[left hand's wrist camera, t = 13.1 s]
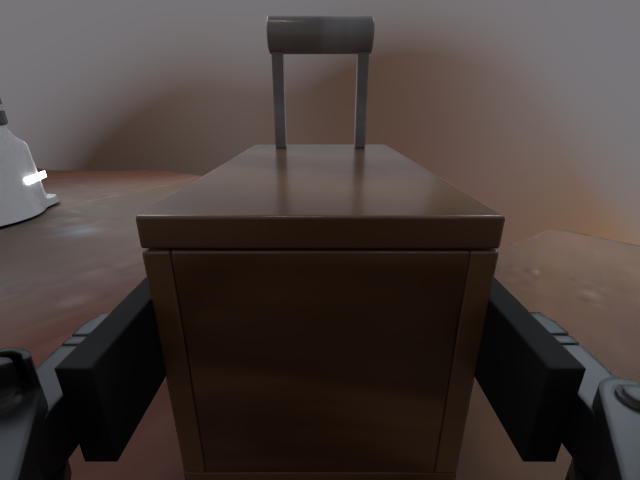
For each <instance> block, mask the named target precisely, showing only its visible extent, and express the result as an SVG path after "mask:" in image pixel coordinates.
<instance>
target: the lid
mask: <svg viewBox="0 0 640 480" xmlns="http://www.w3.org/2000/svg"><path fill="white" fill-rule="evenodd" d="M373 41H374V17H373V16H268V17H267V42H268V49H269V52H270V54H272V75H273V97H274V120H275V145H255V146H253V147H251V148H250V149H248V150H246V151H245V152H243V153H241V154H240V155H238V156H236V157H235V158H233V159H231V160H230V161H228V162H226V163H225V164H223V165H221V166H219V167H218V168H216V169H214V170H213V171H211V172H209V173H208V174H206V175H204V176H203V177H201V178H199V179H198V180H196V181H194V182H193V183H191V184H189V185H188V186H186V187H184V188H183V189H181V190H179V191H178V192H176V193H174V194H173V195H171V196H169V197H167V198H166V199H164V200H162V201H161V202H159V203H157V204H156V205H154V206H152V207H151V208H149V209H147V210H146V211H144V212H142V213H141V214H139V215H137V216H136V223H137V228H138V233H139V238H140V243H141V247H142V248H499V246H500V242H501V237H502V231H503V226H504V221H505V217H504V216H503V215H501V214H500V213H498V212H496V211H495V210H493V209H491V208H490V207H488V206H486V205H485V204H483V203H481V202H480V201H478V200H476V199H475V198H473V197H471V196H470V195H468V194H466V193H465V192H463V191H461V190H459V189H458V188H456V187H455V186H453V185H451V184H450V183H448V182H446V181H445V180H443V179H441V178H440V177H438V176H436V175H435V174H433V173H431V172H430V171H428V170H426V169H425V168H423V167H421V166H419V165H418V164H416V163H414V162H413V161H411V160H409V159H408V158H406V157H404V156H403V155H401V154H399V153H398V152H396V151H394V150H393V149H391V148H389V147H388V146H386V145H365V139H366V116H367V94H368V71H369V54H371V52H372V48H373ZM284 54H357V72H356V101H355V132H354V145H287V136H286V105H285V73H284Z"/></svg>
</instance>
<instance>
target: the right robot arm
mask: <svg viewBox="0 0 640 480" xmlns="http://www.w3.org/2000/svg"><path fill="white" fill-rule="evenodd" d="M7 123H8V121H7V117H6V114H5V107H4V105H2V102H1V99H0V226H4V225H8V224H12V223H15V222H19V221H22V220H25V219H28V218H31V217H34V216H36V215H38V214H40V213H42V212H43V211H44V210H45V209H46V208H47V207H48V206H51V205H53V204H56V203H58V202H59V200H58V198H57V195H55V194H45V191H44V188H43V185H42V183H41V179H43V178H45V177H47V176H46V172H45V171H41V172H39V173H38V172H37V169H36V166H35V164H34V161H33V158H32V155H31V153H30V150H29V148H28V145H27V144H26V143H25V142H24V141H22V140H21V139H19V138H17V137H15V136H14V135H13V134H12V133H10V131H9V130H8V129H7V128H6V126H5V125H6V124H7Z"/></svg>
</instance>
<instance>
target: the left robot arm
mask: <svg viewBox="0 0 640 480" xmlns="http://www.w3.org/2000/svg"><path fill="white" fill-rule="evenodd" d="M165 377H166V373H165V368H164V363H163V358H162V353H161V347H160V342H159V337H158V332H157V327H156V321H155V316H154V311H153V306H152V301H151V296H150V290H149V285H148V280H147V277H146V278H145V279H144V280H143V281H142V282H141V283H140V284H139V285H138V286H137V287H136V288H135V289H134V290H133V291H132V292H131V293H130V294H129V295H128V296H127V297H126V298H125V299H124V300H123V301H122V302H121V303H120V304H119V305H118V306H117V307H116V308H115V309H114V310H113V311H112V312H111V313H102V314H100V315H98V316H96V317H95V318H93V319H91V320H89V321H88V322H86V323H84V324H83V325H82V326H81V327H80V328H79V329H78V330H77V331H76V332H75V333H74V334H73V336H72V337H69V338H68V339H67V340H66V341H65V342H64V343H63V344H62V346H60V347H58V348H57V349H56V350H55V351H54V352H53V353H52V354H51V355H50V356H49V357H48V358H47V359H46V360H44V361H43V362H42V363H41V364H40V365H39V366H38V367H37V368H35V365H34V363H33V360H32V357H31V354H30V351H28V350H26V349H24V348H17V347H11V348H4V349H0V480H71V468H70V464H69V461H68V459H69V457H70V456H71V454H72V453H73V452H74V450H75V449H76V447H77V446H78V445H79V444H80V447H81V450H82V453H83V456H84V459H85V461H118V459H119V457H120V456H121V454H122V452H123V450H124V449H125V447H126V445H127V443H128V442H129V440H130V438H131V436H132V435H133V433H134V431H135V429H136V428H137V426H138V424H139V422H140V421H141V419H142V417H143V415H144V413H145V412H146V410H147V408H148V406H149V405H150V403H151V401H152V399H153V398H154V396H155V394H156V392H157V391H158V389H159V387H160V385H161V384H162V382H163V380H164V378H165ZM475 378H476V379H477V381H478V383H479V385H480V386H481V388H482V390H483V392H484V393H485V395H486V397H487V399H488V400H489V402H490V404H491V406H492V408H493V409H494V411H495V413H496V415H497V416H498V418H499V420H500V422H501V423H502V425H503V427H504V429H505V430H506V432H507V434H508V436H509V437H510V439H511V441H512V443H513V444H514V446H515V448H516V450H517V451H518V453H519V455H520V457H521V459H522V460H523V461H539V462H555V461H556V458H557V455H558V452H559V449H560V446H561V443H562V444H563V445H564V446H565V448H566V449H567V451H568V452H569V453H570V455H571V456H572V461H571V464H570V467H569V470H568V472H567V475H566V478H565V480H640V383H639V382H636V381H633V380H631V379H626V378H620V377H615V376H614V375H613V374H612V373H611V372H610V371H609V370H608V369H607V368H605V367H604V366H603V365H602V364H601V363H600V362H599V361H598V360H597V359H596V358H595V357H594V356H592V355H591V354H590V353H589V352H588V351H587V350H586V349H585V348H584V347H583V346H582V345H579V343H578V342H577V341H576V340H575V339H574V338H573V337H572V336H569V335H568V333H567V332H566V331H565V330H564V329H563V328H562V327H561V326H560V325H559V324H558V323H557V322H555V321H553V320H552V319H550V318H548V317H546V316H545V315H543V314H541V313H539V312H529V311H528V310H527V309H526V308H525V307H524V306H523V305H522V304H521V303H520V302H519V301H517V300H516V299H515V298H514V297H513V296H512V295H511V294H510V293H509V292H508V291H507V290H506V289H505V288H504V287H503V286H502V285H501V284H500V283H499V282H498V281H497V280H496V279H495V278H494V279H493V284H492V289H491V295H490V299H489V305H488V310H487V315H486V320H485V325H484V330H483V335H482V341H481V346H480V351H479V356H478V361H477V366H476V372H475Z"/></svg>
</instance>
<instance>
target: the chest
mask: <svg viewBox="0 0 640 480" xmlns="http://www.w3.org/2000/svg"><path fill="white" fill-rule="evenodd" d="M497 258H498V251H497V250H496V249H494V248H146V249H145V250H144V251H143V259H144V264H145V270H146V275H147V280H148V285H149V290H150V296H151V301H152V306H153V311H154V316H155V321H156V327H157V332H158V337H159V342H160V347H161V353H162V358H163V363H164V368H165V373H166V379H167V384H168V389H169V394H170V399H171V404H172V410H173V415H174V420H175V425H176V430H177V436H178V441H179V446H180V451H181V456H182V462H183V467H184V471H185V472H184V474H185V480H455V477H456V470H457V465H458V459H459V454H460V449H461V444H462V439H463V434H464V428H465V423H466V418H467V413H468V408H469V403H470V398H471V392H472V387H473V382H474V377H475V372H476V366H477V361H478V356H479V351H480V346H481V341H482V335H483V330H484V325H485V320H486V315H487V310H488V305H489V299H490V295H491V289H492V284H493V279H494V274H495V269H496V264H497Z"/></svg>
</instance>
